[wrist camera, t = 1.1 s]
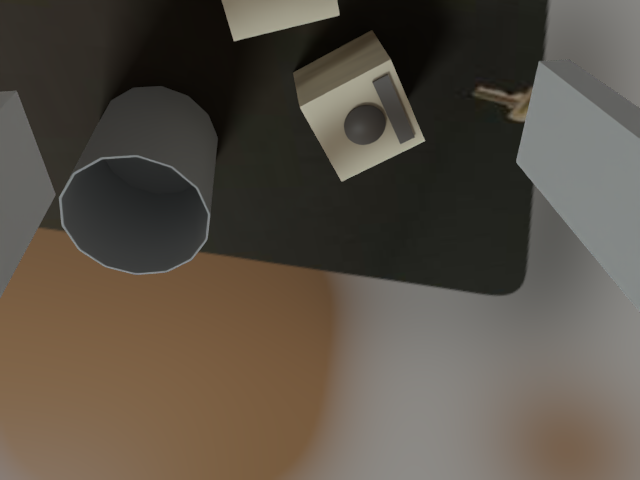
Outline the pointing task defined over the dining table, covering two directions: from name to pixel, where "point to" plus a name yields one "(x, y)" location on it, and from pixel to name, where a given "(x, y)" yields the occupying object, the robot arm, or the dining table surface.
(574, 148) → the robot arm
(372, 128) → the striped block
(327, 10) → the plain block
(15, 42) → the dining table surface
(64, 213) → the cup
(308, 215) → the dining table surface
